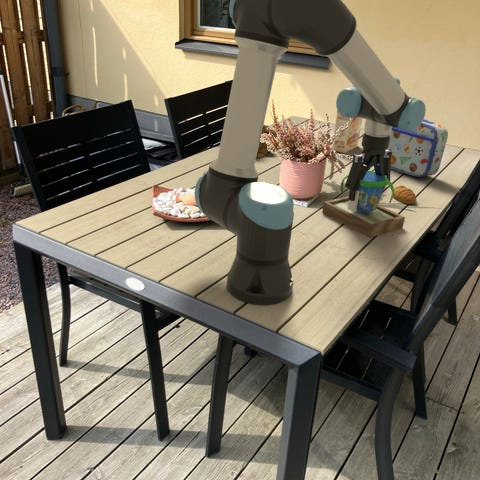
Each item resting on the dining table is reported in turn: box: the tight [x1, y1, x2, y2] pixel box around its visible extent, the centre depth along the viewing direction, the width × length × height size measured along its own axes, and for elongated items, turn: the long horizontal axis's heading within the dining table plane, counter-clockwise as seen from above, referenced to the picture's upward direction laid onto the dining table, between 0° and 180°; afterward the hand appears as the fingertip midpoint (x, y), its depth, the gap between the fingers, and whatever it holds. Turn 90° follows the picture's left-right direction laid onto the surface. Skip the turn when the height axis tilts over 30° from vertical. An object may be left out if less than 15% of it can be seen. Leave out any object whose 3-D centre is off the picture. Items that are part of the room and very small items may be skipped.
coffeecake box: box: [331, 109, 363, 154], centre depth 218 cm, size 15×7×20 cm, turn 147°
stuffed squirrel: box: [256, 124, 278, 158], centre depth 206 cm, size 10×14×13 cm
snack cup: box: [339, 170, 395, 212], centre depth 148 cm, size 16×10×10 cm
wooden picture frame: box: [322, 195, 406, 238], centre depth 151 cm, size 14×20×4 cm
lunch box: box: [386, 118, 449, 178], centre depth 193 cm, size 28×10×22 cm, turn 34°
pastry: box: [393, 185, 417, 205], centre depth 168 cm, size 9×7×4 cm
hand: (363, 207), depth 150 cm, fingers closed on snack cup, 9 cm apart
